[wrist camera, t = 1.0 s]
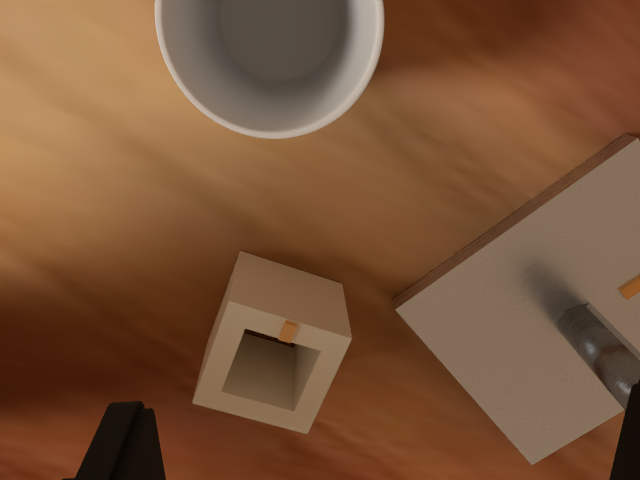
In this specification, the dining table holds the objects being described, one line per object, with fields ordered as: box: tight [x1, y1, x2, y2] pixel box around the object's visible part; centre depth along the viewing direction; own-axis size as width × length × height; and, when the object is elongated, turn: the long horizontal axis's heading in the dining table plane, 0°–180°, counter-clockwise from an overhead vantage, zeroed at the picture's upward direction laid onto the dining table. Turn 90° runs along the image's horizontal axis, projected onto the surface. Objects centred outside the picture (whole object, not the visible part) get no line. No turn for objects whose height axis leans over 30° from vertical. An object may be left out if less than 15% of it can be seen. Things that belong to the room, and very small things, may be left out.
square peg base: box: [392, 133, 640, 465], centre depth 31 cm, size 16×16×8 cm
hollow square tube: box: [192, 251, 352, 434], centre depth 31 cm, size 6×6×6 cm
